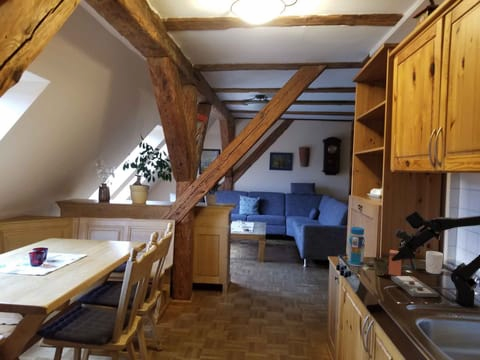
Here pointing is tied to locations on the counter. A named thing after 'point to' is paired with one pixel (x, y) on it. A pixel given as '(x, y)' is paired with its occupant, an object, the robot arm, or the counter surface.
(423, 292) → the breaker panel
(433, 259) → the white cup
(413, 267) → the phone stand
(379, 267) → the cup
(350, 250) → the beverage bottle
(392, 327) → the counter surface
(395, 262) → the block
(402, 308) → the counter surface
